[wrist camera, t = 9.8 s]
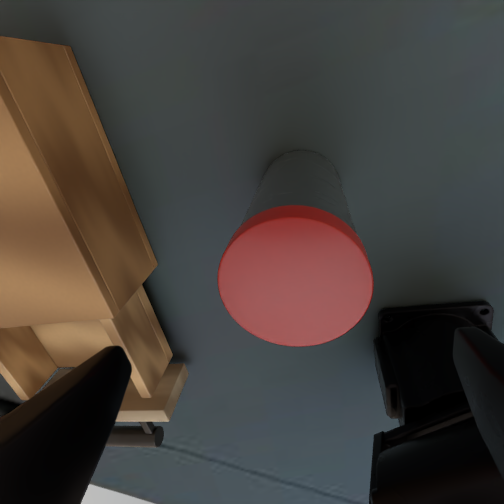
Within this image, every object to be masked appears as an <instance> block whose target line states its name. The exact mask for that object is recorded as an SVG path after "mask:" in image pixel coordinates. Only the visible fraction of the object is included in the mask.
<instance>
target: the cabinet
mask: <svg viewBox="0 0 504 504" xmlns="http://www.w3.org/2000/svg"><path fill="white" fill-rule="evenodd" d="M157 265H158V264H157V261H156V259H155V256H154V254H153V251H152V249H151V246H150V244H149V241H148V239H147V236H146V234H145V231H144V229H143V226H142V224H141V221H140V219H139V216H138V214H137V211H136V209H135V206H134V204H133V201H132V199H131V196H130V194H129V191H128V189H127V186H126V184H125V181H124V179H123V176H122V174H121V171H120V169H119V166H118V164H117V161H116V159H115V156H114V154H113V151H112V149H111V146H110V144H109V141H108V139H107V136H106V134H105V131H104V129H103V126H102V124H101V121H100V119H99V116H98V114H97V111H96V109H95V106H94V104H93V101H92V99H91V96H90V94H89V91H88V89H87V86H86V84H85V81H84V79H83V77H82V74H81V72H80V69H79V67H78V64H77V62H76V59H75V57H74V54H73V52H72V49H71V47H70V46H66V45H59V44H52V43H45V42H38V41H31V40H24V39H17V38H10V37H3V36H0V328H8V327H20V326H32V325H43V324H55V323H66V322H78V321H89V320H101V319H112V318H115V317H116V315H117V314H118V313H119V311H120V310H121V309H122V308H123V307H124V306H125V304H126V303H127V302H128V301H129V299H130V298H131V297H132V296H133V295H134V293H135V292H136V291H137V290H138V288H139V287H140V286H141V285H142V284H143V282H144V281H145V280H146V279H147V277H148V276H149V275H150V274H151V273H152V271H153V270H154V269H155V268H156V267H157Z"/></svg>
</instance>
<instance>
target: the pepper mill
mask: <svg viewBox="0 0 504 504" xmlns="http://www.w3.org/2000/svg"><path fill="white" fill-rule="evenodd" d="M373 285H374V280H373V273H372V269H371V266H370V263H369V260H368V257H367V254H366V251H365V248H364V246H363V244H362V242H361V240H360V239H359V237H358V236H357V234H356V231H355V227H354V224H353V221H352V218H351V215H350V211H349V208H348V205H347V202H346V199H345V195H344V192H343V189H342V186H341V183H340V179H339V176H338V173H337V171H336V169H335V168H334V166H333V165H332V164H331V162H330V161H329V160H327V159H326V158H325V157H323V156H322V155H320V154H318V153H316V152H312V151H307V150H297V151H292V152H288V153H286V154H284V155H282V156H280V157H279V158H277V159H276V160H275V161H274V162H273V163H272V164H271V165H270V166H269V168H268V169H267V171H266V173H265V175H264V177H263V179H262V181H261V183H260V185H259V187H258V190H257V192H256V194H255V196H254V198H253V200H252V202H251V204H250V207H249V209H248V211H247V213H246V215H245V217H244V219H243V221H242V224H241V226H240V227H239V228H238V230H237V231H236V232H235V233H234V235H233V236H232V238H231V240H230V242H229V244H228V246H227V248H226V250H225V252H224V254H223V256H222V259H221V261H220V265H219V269H218V288H219V293H220V296H221V299H222V301H223V304H224V306H225V307H226V309H227V311H228V312H229V314H230V315H231V316H232V318H233V319H234V320H235V321H236V322H237V323H238V324H239V325H240V326H242V327H243V328H244V329H245V330H247V331H248V332H250V333H251V334H253V335H255V336H257V337H259V338H261V339H263V340H266V341H268V342H272V343H275V344H279V345H284V346H294V347H304V346H313V345H318V344H323V343H326V342H329V341H332V340H334V339H336V338H338V337H340V336H342V335H343V334H345V333H347V332H348V331H349V330H351V329H352V328H353V327H354V326H355V325H356V324H357V323H358V322H359V321H360V320H361V318H362V317H363V316H364V314H365V313H366V311H367V309H368V307H369V305H370V302H371V299H372V294H373Z"/></svg>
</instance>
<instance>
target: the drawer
mask: <svg viewBox="0 0 504 504" xmlns="http://www.w3.org/2000/svg"><path fill="white" fill-rule="evenodd" d="M117 345H118V346H121V347H122V348H123V349H124V351H125V353H126V355H127V357H128V359H129V361H130V363H131V365H132V373H131V376H130V380H129V383H128V386H127V389H126V392H125V395H124V398H123V401H122V404H121V407H120V410H119V413H118V416H117V419H116V422H139V423H140V424H141V426H114V427H113V429H112V432H111V434H110V436H109V439H108V441H107V443H106V446H119V447H159V446H160V445H161V443H162V441H163V437H164V431H163V428H162V427H161V426H154V425H153V423H152V422H169V421H170V418H171V416H172V413H173V411H174V408H175V406H176V404H177V401H178V399H179V396H180V394H181V391H182V389H183V387H184V384H185V382H186V379H187V377H188V374H189V373H188V371H187V369H186V366H185V364H184V363H181V364H169V362H170V360H171V358H172V356H173V354H172V352H171V349H170V347H169V345H168V343H167V340H166V338H165V336H164V333H163V331H162V329H161V327H160V324H159V322H158V320H157V318H156V315H155V313H154V311H153V308H152V306H151V304H150V302H149V299H148V297H147V295H146V293H145V290H144V288H143V286H142V285H141V286H140V287H139V288H138V290H137V291H136V292H135V293H134V295H133V296H132V297H131V298H130V299H129V301H128V302H127V303H126V304H125V306H124V307H123V308H122V309H121V310H120V311H119V313H118V314H117V315H116V317H115V318H112V319H101V320H89V321H78V322H66V323H55V324H43V325H32V326H20V327H8V328H0V373H1V374H2V376H3V377H4V378H5V379H6V381H7V382H8V383H9V385H10V386H11V387H12V388H13V390H14V391H15V392H16V394H17V395H18V396H19V397H20V399H21V400H29V399H30V398H32V397H33V396H34V395H35V393H36V392H37V391H38V390H39V389H40V388H41V387H42V385H43V384H44V383H45V382H46V381H47V380H48V379H49V377H50V376H51V375H52V374H53V373H54V372H55V371H56V369H57V368H61V367H77V366H79V365H80V364H82V363H83V362H84V361H86V360H87V359H89V358H90V357H92V356H93V355H95V354H96V353H98V352H99V351H101V350H102V349H104V348H105V347H107V346H117ZM73 369H74V368H70V369H60V370H59V371H58V372H57V373H56V374H55V375H54V377H53V378H52V379H51V380H50V381H49V382H48V383H47V385H46V386H45V387H44V388H43V389H45V388H46V387H48V386H49V385H51V384H52V383H54V382H55V381H57V380H58V379H60V378H61V377H62V376H64V375H65V374H67V373H68V372H70V371H71V370H73ZM43 389H42V390H43ZM42 390H41V391H42Z"/></svg>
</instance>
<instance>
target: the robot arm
mask: <svg viewBox="0 0 504 504" xmlns="http://www.w3.org/2000/svg"><path fill="white" fill-rule="evenodd" d="M482 309H485V310H483V311H480V310H482ZM493 313H494V310H493V308H492V306H491V305H490V304H489V303H488V302H485V301H479V302H466V303H453V304H440V305H427V306H414V307H401V308H388V309H383V310H381V311H380V312H379V314H378V319H379V335H380V337H376V339H375V340H374V352H375V365H376V370H377V374H378V379H379V383H380V387H381V391H382V396H383V400H384V404H385V408H386V413H387V415H388V416H389V417H390V418H398V420H399V423H400V427H397V428H395V429H392V430H390V431H387V432H383V431H382V432H380V433H377V434H375V435H374V442H373V455H372V468H371V481H370V494H369V504H504V344H503V343H501V342H500V341H499V340H498V339H497V338H496V336H495V335H494V334H493V332H492V331H491V328H492V321H493ZM385 316H390V317H388V318H384V317H385ZM131 373H132V365H131V363H130V361H129V359H128V357H127V355H126V353H125V351H124V349H123V348H122V347H121V346H118V345H117V346H107V347H105V348H104V349H102V350H101V351H99V352H98V353H96V354H95V355H93V356H92V357H90V358H89V359H87V360H86V361H84V362H83V363H82V364H80V365H79V366H77V367H76V368H74V369H73V370H71V371H70V372H68V373H67V374H65V375H64V376H62V377H61V378H60V379H58V380H57V381H55V382H54V383H52V384H51V385H49V386H48V387H46V388H45V389H43V390H42V391H40V392H39V393H38V394H36V395H35V396H33V397H32V398H30V399H29V400H27V401H26V402H24V403H23V404H21V405H20V406H18V407H17V408H16V409H14V410H13V411H11V412H10V413H8V414H7V415H5V416H4V417H2V418H1V419H0V504H81V501H82V499H83V497H84V495H85V492H86V490H87V488H88V485H89V483H90V481H91V478H92V476H93V474H94V471H95V469H96V467H97V464H98V462H99V460H100V457H101V455H102V453H103V450H104V448H105V446H106V443H107V441H108V439H109V436H110V434H111V432H112V429H113V427H114V424H115V422H116V419H117V416H118V413H119V410H120V407H121V404H122V401H123V398H124V395H125V392H126V389H127V386H128V383H129V380H130V376H131Z"/></svg>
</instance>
